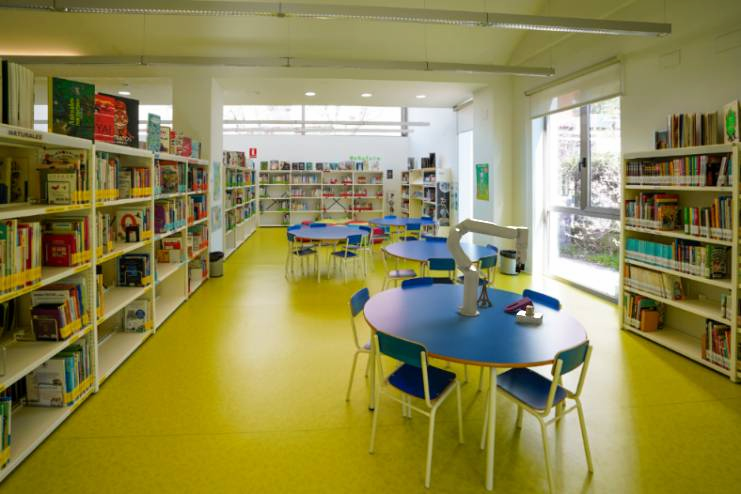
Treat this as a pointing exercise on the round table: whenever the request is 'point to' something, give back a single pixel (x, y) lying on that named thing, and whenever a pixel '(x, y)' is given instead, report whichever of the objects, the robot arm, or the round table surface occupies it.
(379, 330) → the round table surface
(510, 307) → the maroon shoe
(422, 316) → the round table surface
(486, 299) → the eiffel tower
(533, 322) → the collar block
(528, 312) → the wedge pin
